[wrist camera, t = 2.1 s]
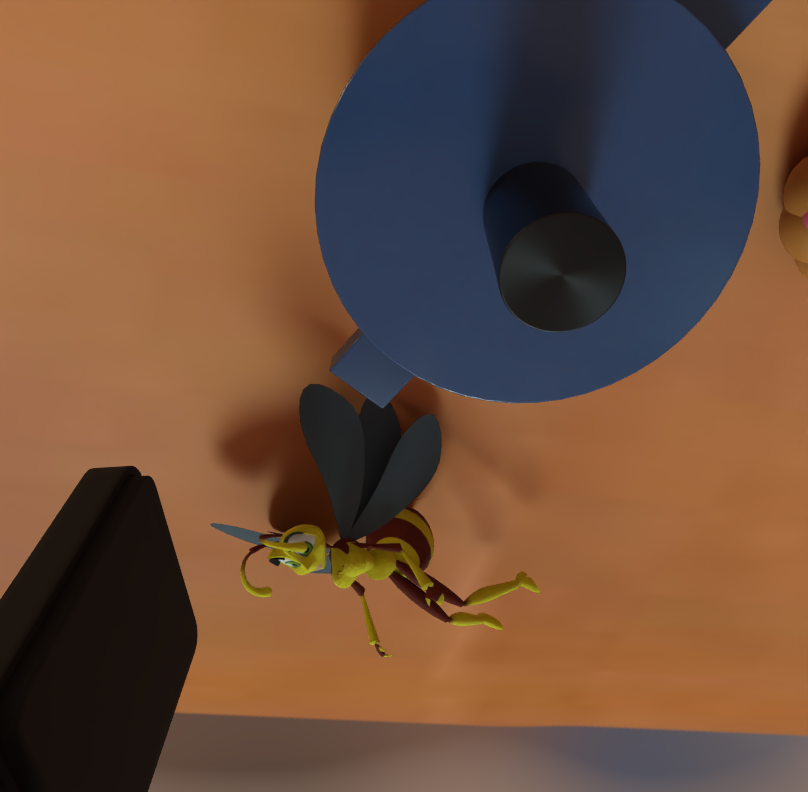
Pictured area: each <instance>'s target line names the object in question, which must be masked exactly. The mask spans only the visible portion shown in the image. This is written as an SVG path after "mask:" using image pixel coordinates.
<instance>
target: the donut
mask: <svg viewBox="0 0 808 792" xmlns="http://www.w3.org/2000/svg"><path fill="white" fill-rule="evenodd" d="M783 203H784V208H783V210H782V213H781V216H780V220H779V234H780V238H781V241H782V243H783V245H784V247H785V249H786V250H787V251H788V252H789V254H790V255H791V256H793V257H794V259H795V262H796V264H797V266H798V268H799V270H800V271H801V272H802V274H803V275H804V276H805V277H806V278H808V156H807V157H805V158H804V159H803V160H801V161H800V162H799V163H798V164H797V165H796V166H795V168H794V169H793V170H792V172H791V173H790V175H789V177H788V179H787V181H786V184H785V187H784V192H783Z"/></svg>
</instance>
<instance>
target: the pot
mask: <svg viewBox="0 0 808 792" xmlns="http://www.w3.org/2000/svg"><path fill="white" fill-rule="evenodd" d="M677 1H678V2H680V3H681V4H683V5H684V6H685V7H686V8H687V9H689V10H690V11H691V12H692V13H693V14H694V15H695V16H696V17H697V18H698V19H699V20H700V21H702V22H703V23H704V24H705V25H706V26H707V27H708V28H709V30H710V31H711V32H712V33H713V35H714V36H715V37H716V39H717V40H718V41H719V42H720V44H721V45H722V46H723V47H724V49H726V48H727V47H728V46H729V45H730V44H731V43H732V42H733V41H734V40H735V39H736V38H737V37H738V36H739V35H740V34H741V33H742V31H743V30H744V29H745V28H746V27H747V26H748V25H749V24H750V23H751V22H752V21H753V20H754V19H755V18H756V17H757V16H758V15H759V14H760V13H761V12H762V10H763V9H764V8H765V7H766V6H767V5H768V4H769V3H770V2H771V1H772V0H677ZM330 371H331V372H332V373H333V374H334V375H336V376H337V377H339V378H340V379H341V380H343V381H344V382H346V383H347V384H348V385H350V386H351V387H353V388H354V389H355V390H357V391H358V392H360V393H361V394H362V395H364V396H365V397H367V398H368V399H369V400H371V401H372V402H374V403H375V404H377V405H378V406H379V407H381V408H384V407H385V406H386V405H387V404H388V403H389V402H390V401H391V400H392V399H393V398H394V397H395V396H396V395H397V393H398V392H399V391H400V390H401V389H402V388H403V387H404V386H405V385H406V384H407V383H408V382H409V381H410V380H411V379H412V378H413V377H414V376H415V375H413V374H412V373H410V372H408V371H407V370H405V369H404V368H402V367H401V366H399V365H398V364H396V363H395V362H394V361H392V360H391V359H390V358H389V357H388V356H386V355H385V354H384V353H383V352H382V351H381V350H379V349H378V348H377V347H376V346H375V345H374V344H373V343H372V342H371V341H370V340H369V339H368V337H367V336H366V335H365V334H364V333H363V332H362V331H361V330H360V329H359V328H358V329H357V330H356V331H355V333H354V334H353V335H352V336H351V337H350V338H349V339H348V341H347V342H346V343H345V344H344V345H343V346H342V347H341V348H340V350H339V351H338V352H337V353H336V354H335V355H334V356H333V358H332V361H331V366H330Z"/></svg>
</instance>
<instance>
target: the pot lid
mask: <svg viewBox="0 0 808 792" xmlns="http://www.w3.org/2000/svg"><path fill="white" fill-rule="evenodd" d="M759 174H760V155H759V141H758V132H757V128H756V123H755V119H754V114H753V109H752V105H751V102H750V100H749V97H748V94H747V92H746V89H745V86H744V84H743V81H742V79H741V76H740V75H739V73H738V71H737V69H736V67H735V66H734V64H733V62H732V60H731V59H730V57H729V55H728V53H727V51H726V50H725V49H724V47H723V46H722V45H721V44H720V42H719V41H718V40H717V39H716V37H715V36H714V35H713V33H712V32H711V31H710V30H709V28H708V27H707V26H706V25H705V24H704V23H703V22H702V21H700V20H699V19H698V18H697V17H696V16H695V15H694V14H693V13H692V12H691V11H690V10H689V9H687V8H686V7H685V6H684V5H683V4H681V3H680V2H678V1H677V0H426V1H425V2H423V3H422V4H420V5H419V6H417V7H416V8H414V9H413V10H412V11H410V12H409V13H407V14H406V15H405V16H404V17H403V18H402V19H401V20H400V21H398V22H397V23H396V24H395V25H394V26H393V27H392V28H391V29H390V30H388V31H387V32H386V33H385V34H384V35H383V36H382V37H381V38H380V40H379V41H378V42H377V43H376V44H375V46H374V47H373V48H372V49H371V50H370V51H369V53H368V54H367V55H366V56H365V57H364V58H363V60H362V61H361V63H360V64H359V66H358V67H357V69H356V70H355V72H354V74H353V75H352V77H351V78H350V80H349V81H348V83H347V84H346V86H345V88H344V90H343V92H342V94H341V96H340V98H339V100H338V102H337V105H336V107H335V109H334V111H333V113H332V115H331V117H330V121H329V124H328V127H327V130H326V133H325V136H324V139H323V143H322V146H321V151H320V156H319V162H318V168H317V173H316V188H315V213H316V225H317V234H318V238H319V243H320V247H321V252H322V257H323V260H324V263H325V266H326V268H327V271H328V274H329V277H330V279H331V282H332V285H333V287H334V288H335V290H336V292H337V294H338V296H339V298H340V300H341V302H342V304H343V306H344V307H345V309H346V310H347V312H348V313H349V315H350V316H351V317H352V319H353V320H354V322H355V323H356V325H357V326H358V327H359V329H360V330H361V331H362V332H363V333H364V334H365V335H366V336H367V337H368V339H369V340H370V341H371V342H372V343H373V344H374V345H375V346H376V347H377V348H378V349H379V350H381V351H382V352H383V353H384V354H385V355H386V356H388V357H389V358H390V359H391V360H392V361H394V362H395V363H396V364H398V365H399V366H401V367H402V368H404V369H405V370H407V371H408V372H410V373H412V374H413V375H415V376H416V377H418V378H420V379H422V380H424V381H426V382H428V383H430V384H433V385H435V386H437V387H439V388H442V389H445V390H448V391H450V392H453V393H456V394H459V395H462V396H467V397H471V398H476V399H481V400H485V401H495V402H505V403H538V402H545V401H553V400H561V399H565V398H569V397H574V396H578V395H582V394H586V393H589V392H592V391H594V390H597V389H600V388H603V387H605V386H608V385H611V384H613V383H615V382H617V381H619V380H621V379H623V378H625V377H627V376H629V375H631V374H633V373H635V372H637V371H639V370H640V369H642V368H643V367H645V366H646V365H648V364H650V363H651V362H653V361H654V360H656V359H658V358H659V357H660V356H661V355H663V354H664V353H665V352H666V351H668V350H669V349H670V348H671V347H673V346H674V345H675V344H676V343H678V342H679V341H680V340H681V339H682V338H683V337H684V336H685V335H686V334H687V333H688V332H689V331H690V330H691V329H692V328H693V327H694V326H695V325H696V324H697V323H698V322H699V321H700V320H701V318H702V317H703V316H704V315H705V313H706V312H707V311H708V310H709V308H710V307H711V306H712V305H713V303H714V302H715V301H716V299H717V298H718V296H719V295H720V293H721V291H722V290H723V288H724V287H725V285H726V283H727V282H728V280H729V279H730V277H731V275H732V273H733V271H734V269H735V267H736V265H737V263H738V261H739V258H740V256H741V254H742V252H743V250H744V247H745V244H746V241H747V238H748V235H749V232H750V229H751V226H752V223H753V218H754V213H755V208H756V203H757V198H758V190H759Z"/></svg>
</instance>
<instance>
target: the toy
mask: <svg viewBox="0 0 808 792" xmlns="http://www.w3.org/2000/svg"><path fill="white" fill-rule="evenodd" d="M299 412H300V422H301V426H302V431H303V434H304V437H305V440H306V443H307V445H308V447H309V450H310V452H311V454H312V456H313V458H314V460H315V462H316V464H317V466H318V468H319V471H320V473H321V475H322V477H323V480H324V482H325V484H326V487H327V490H328V493H329V496H330V499H331V503H332V506H333V510H334V514H335V517H336V521H337V526H338V530H339V534H340V538H341V539H340V540H338V541H337V542H336V543H335V544H334V545H333V546H330V545H329V544H327V543H326V539H325V536H324V534H323V532H322V530H321V529H320V528H319V527H317V526H314V525H307V524H302V525H298V526H295V527H293V528H291V529H289V530H287V531H286V532H285V533H284V534H279V533H274V532H270V533H273V534H262V533H258V532H255V531H251V530H247V529H243V528H239V527H235V526H230V525H224V524H216V523H212V524H210V525H211V526H212V527H214V528H216V529H218V530H220V531H222V532H224V533H227V534H229V535H231V536H234V537H237V538H239V539H242V540H245V541H247V542H250V543H253V544H257V545H258V546H255V547H253V548H250V549H249V551H250V552H249V553H248V554H247V555H246V557H245V558H244V560H243V562H242V566H241V580H242V583H243V585H244V587H245V589H246V590H247V591H248V592H249V593H251V594H252V595H254V596H257V597H269V596H270V595H271V594H272V590H271V588H270V587H263V588H255V587H253V586H251V585H250V584H249V582H248V581H247V579H246V575H245V564H246V560H247V559H248V557H249V556H250V555H251V554H253V553H255V552H257V551H258V550H260V549H262V548H264V547H268V548H273V549H272V550H271V552H270V553H269V555H268V558H267V559H270V560H269V562H271V563H272V564H274V565H276V566H279V564H280V563H282V564H284V565H287V566H289V567H291V568H292V569H293V571H294V572H295V573H297V574H298V575H304V574H307V573H331V576H332V578H333V581H334V583H335V584H336V585H337V586H338V587H340V588H347V587H349V586H350V585H351V586H352V587H353V589H354V590H355V591H356V592H357V594H358V595H359V596H361V599H362V604H363V609H364V614H365V619H366V625H367V630H368V636H369V641H370V644H371V645H374V644H375V647H376V649H377V651H378V653H379V654H380V656H382V657H383V656H385V657H392V656H393V655H387V654H385V653H384V652H385V650H384V649H383V648H382V647H381V646H379V645H378V643H379V642H380V641H379V639H378V636H377V633H376V630H375V627H374V624H373V621H372V618H371V615H370V612H369V609H368V606H367V603H366V600H365V597H364V592H365V589H364V587H363V586H361V585H360V584H359V583H358V582H357V581H355V579H356V577H357V576H358V575H360V574H363V573H365V572H366V573H367V575H368V576H369V577H370V578H371V579H374V580H381V579H385V578H386V577H389V578H390V579H391V580H392V581H393V582H394V584H395V585H396V586H397V587H398V588H399V589H400V590H401V591H402V592H403V593H404V594H405V595H406V596H407V597H408V598H409V599H410V600H412V601H413V602H414V603H416V604H417V605H418V606H420V607H421V608H422V609H424V610H425V611H427V612H428V613H430V614H431V615H433V616H434V617H436V618H438V619H440V620H442V621H444V622H449V623H451V624H454V625H458V626H469V625H476V624H482V623H483V624H485V625H487V626H490V627H492V628H495V629H499V630H502V629H503V626H502V624H501V623H500V622H499V621H498V620H497V619H495V618H494V617H492V616H490V615H488V614H485V613H478V615H473V614H469V613H464V612H458V613H454V614H452V615H451V616H450V617H448V616H447V614H446V613H445V612H444V611H443V610H442V609H441V607H440V606H439V605H442V604H443V601H446V602H448V603H451V604H453V605H456V606H459V607H462V606H468V605H476V604H480V603H484V602H487V601H490V600H493V599H495V598H497V597H499V596H502V595H504V594H506V593H508V592H510V591H513V590H515V589H517V588H518V587H519V585H520V586H522V587H524V588H527V589H529V590H531V591H533V592H535V593H538V594H539V593H540V592H539V588H538V586H537V585H536V583H535V582H534V581H533V580H532V579H531V578H529V577H526V575H527V574H526V573H525V572H520V573H518V574H517V576H516V580H514V581H510V582H506V583H501V584H496V585H491V586H487V587H484V588H481V589H479V590H477V591H475V592H474V593H472V594H471V595H470V596H469V597H468V598H467V599H466V600H465V601H463V600H461V599H460V598H459V597H458V596H457V595H456V594H455V593H454V592H452V591H451V590H450V589H449V588H447V587H446V586H445V585H443V584H442V583H440V582H439V581H437V580H436V579H434V578H433V577H431V576H430V575H428V574H426V573H425V572H423V571H424V570H425V569H426V568H427V567H428V565H429V564H430V561H431V559H432V557H433V551H434V539H433V535H432V532H431V529H430V526H429V524H428V523H427V521H426V520H425V518H424V517H423V516H422V515H421V514H420V513H419V512H418V511H417V510H415V509H413V508H411V507H407V506H408V505H409V504H410V503H411V502H412V501H413V500H414V499H415V498H416V497H417V496H418V495H419V494H420V493H421V492H422V491H423V489H424V488H425V487H426V486H427V484H428V483H429V482H430V481H431V479H432V477H433V475H434V474H435V472H436V470H437V467H438V464H439V461H440V455H441V447H442V446H441V431H440V427H439V422H438V421H437V419H436V417H435V416H434V415H431V414H426V415H424V416H422V417H420V418H419V419H418V420H416V421H415V422H414V423H413V424H412V425H411V426H410V427H409V428H408V430H407V431H406V432H405V433H404V435H403V436H402V438H401V430H400V426H399V422H398V418H397V416H396V414H395V412H394V409H393V407H392V405H391V404H390V402H389V403H388V404H387V405H386V406H385V407H384V408H381V407H379V406H378V405H377V404H375V403H374V402H372V401H371V400H369V399H368V398H367V399H366V400H365V402H364V404H363V406H362V409H361V412H360V414H359V416H358V415H357V413H356V411H355V409H354V408H353V406H352V405H351V404H350V403H349V402H348V401H347V400H346V399H345V398H344V397H343V396H341V395H340V394H338V393H337V392H335V391H334V390H332V389H330V388H327V387H325V386H322V385H320V384H309V385H308V386H307V387H306V388H304V389H303V392H302V394H301V397H300V406H299ZM267 532H268V531H267ZM281 536H282V537H281ZM364 536H366V543H359V542H357V541H355V540H357V539H360V538H362V537H364ZM277 537H281V538H277ZM326 548H329V549H326ZM365 548H367V550H366V549H365ZM326 553H330V554H329V555H327V556H326ZM407 578H408V579H407ZM409 579H410V580H411V581H412V582H411V581H410V580H409ZM414 583H415V584H416V585H418V586H419V587H420V588H422V589H420V588H419V587H418V586H416V585H415V584H414ZM423 590H425V591H427V592H426V593H425V592H424V591H423ZM435 601H437V603H438V604H439V605H438V604H437V603H436V602H435Z"/></svg>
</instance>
